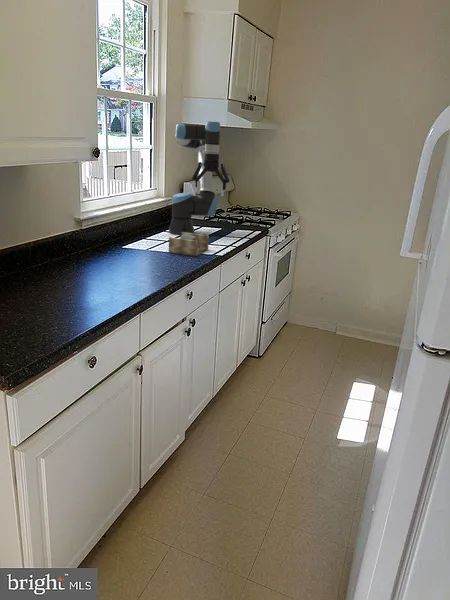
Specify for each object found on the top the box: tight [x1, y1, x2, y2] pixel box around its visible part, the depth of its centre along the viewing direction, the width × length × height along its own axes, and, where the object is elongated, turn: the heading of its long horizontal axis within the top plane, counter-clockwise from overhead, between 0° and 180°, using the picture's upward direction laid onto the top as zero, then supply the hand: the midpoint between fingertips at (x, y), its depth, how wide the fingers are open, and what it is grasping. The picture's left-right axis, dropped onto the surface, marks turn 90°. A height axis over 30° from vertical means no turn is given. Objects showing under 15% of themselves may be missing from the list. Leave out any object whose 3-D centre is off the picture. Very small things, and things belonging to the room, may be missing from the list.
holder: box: [168, 232, 210, 257], centre depth 249 cm, size 15×16×8 cm
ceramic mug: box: [179, 234, 200, 248], centre depth 250 cm, size 11×8×8 cm
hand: (210, 194), depth 258 cm, fingers open, 13 cm apart
